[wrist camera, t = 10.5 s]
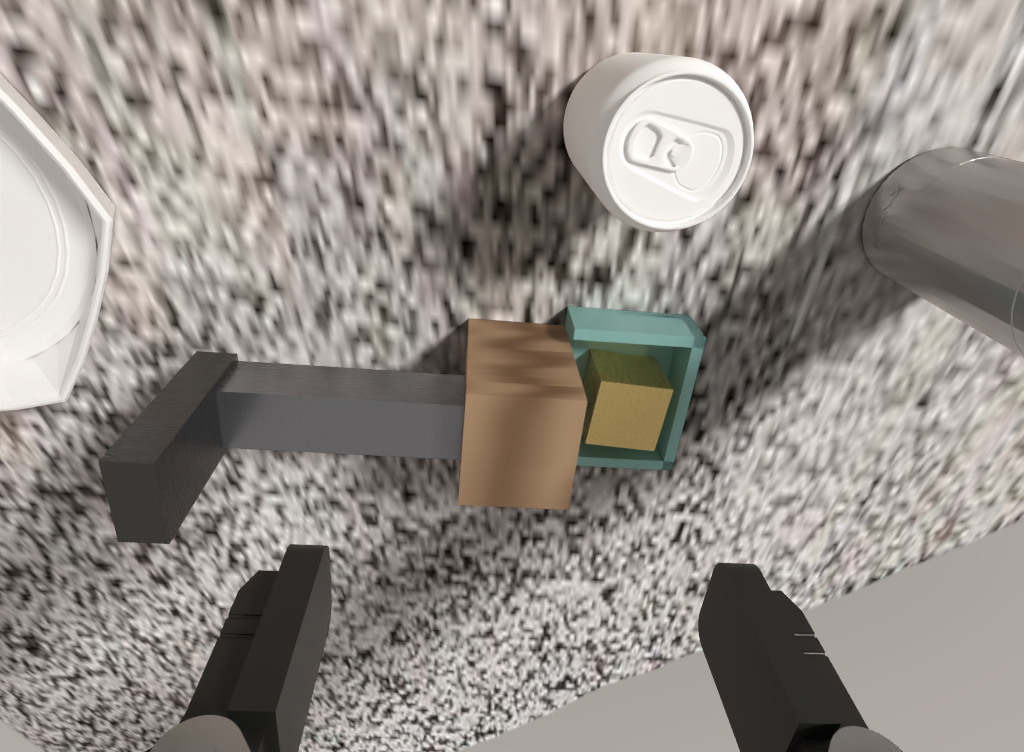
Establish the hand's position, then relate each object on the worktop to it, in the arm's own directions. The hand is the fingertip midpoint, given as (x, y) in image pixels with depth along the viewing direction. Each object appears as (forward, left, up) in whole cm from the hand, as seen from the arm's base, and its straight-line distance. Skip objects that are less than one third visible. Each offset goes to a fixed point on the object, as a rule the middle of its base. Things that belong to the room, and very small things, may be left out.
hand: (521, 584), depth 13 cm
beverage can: (-8, -6, -33) cm, 35 cm away
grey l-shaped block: (+8, +12, -28) cm, 31 cm away
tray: (-10, +12, -33) cm, 37 cm away
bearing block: (-2, +12, -33) cm, 35 cm away
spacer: (-8, +12, -30) cm, 33 cm away
